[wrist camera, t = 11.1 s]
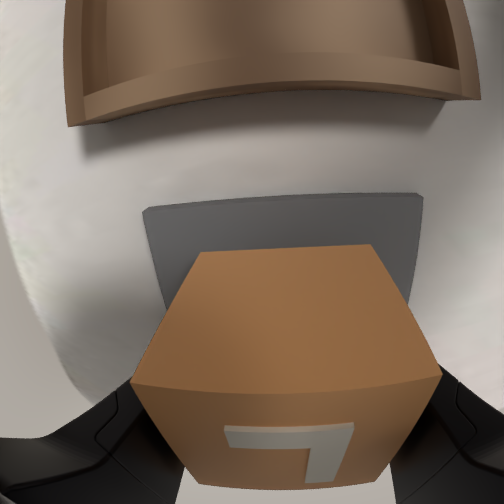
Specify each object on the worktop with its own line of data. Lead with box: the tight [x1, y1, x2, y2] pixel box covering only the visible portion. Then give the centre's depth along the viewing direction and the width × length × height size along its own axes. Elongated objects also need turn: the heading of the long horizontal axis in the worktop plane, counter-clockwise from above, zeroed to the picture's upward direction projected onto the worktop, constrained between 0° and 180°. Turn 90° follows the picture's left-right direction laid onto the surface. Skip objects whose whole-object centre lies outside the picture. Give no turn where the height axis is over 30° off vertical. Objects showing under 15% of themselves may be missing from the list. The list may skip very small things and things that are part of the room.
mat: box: [142, 193, 423, 310], centre depth 11 cm, size 10×7×1 cm
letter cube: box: [130, 244, 443, 490], centre depth 7 cm, size 5×5×5 cm
